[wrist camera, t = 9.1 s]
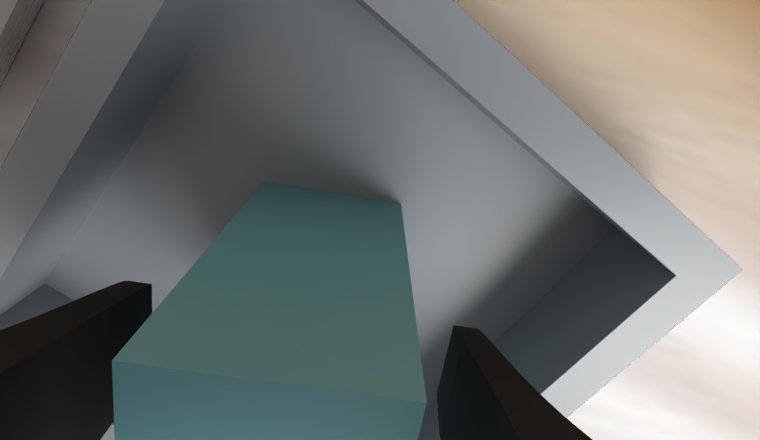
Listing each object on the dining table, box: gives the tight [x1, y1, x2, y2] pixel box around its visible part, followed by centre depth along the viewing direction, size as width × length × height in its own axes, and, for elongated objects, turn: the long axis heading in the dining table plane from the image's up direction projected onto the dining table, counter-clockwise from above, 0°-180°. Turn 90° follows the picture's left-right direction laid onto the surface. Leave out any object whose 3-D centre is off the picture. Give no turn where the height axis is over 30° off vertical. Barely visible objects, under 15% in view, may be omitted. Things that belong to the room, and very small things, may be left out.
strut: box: [112, 182, 427, 440], centre depth 12 cm, size 4×4×9 cm
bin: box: [0, 0, 743, 440], centre depth 15 cm, size 16×16×4 cm
